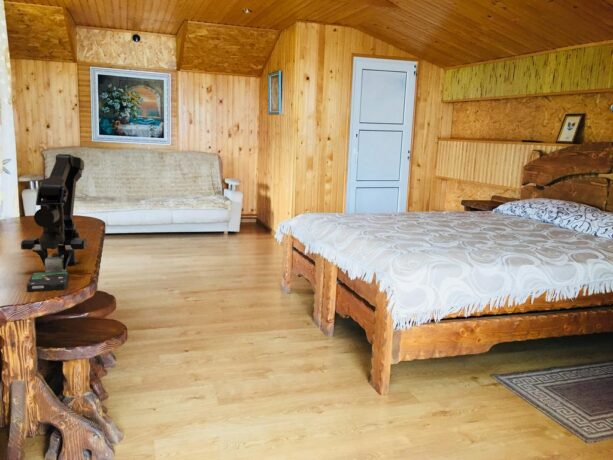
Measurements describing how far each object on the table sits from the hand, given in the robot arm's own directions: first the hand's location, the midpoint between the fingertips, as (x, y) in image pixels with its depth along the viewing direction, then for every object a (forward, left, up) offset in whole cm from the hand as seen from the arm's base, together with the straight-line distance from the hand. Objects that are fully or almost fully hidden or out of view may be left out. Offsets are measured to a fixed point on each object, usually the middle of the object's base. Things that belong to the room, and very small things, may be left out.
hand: (56, 269), depth 175 cm
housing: (0, 0, -1) cm, 1 cm away
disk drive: (+14, +2, -2) cm, 14 cm away
